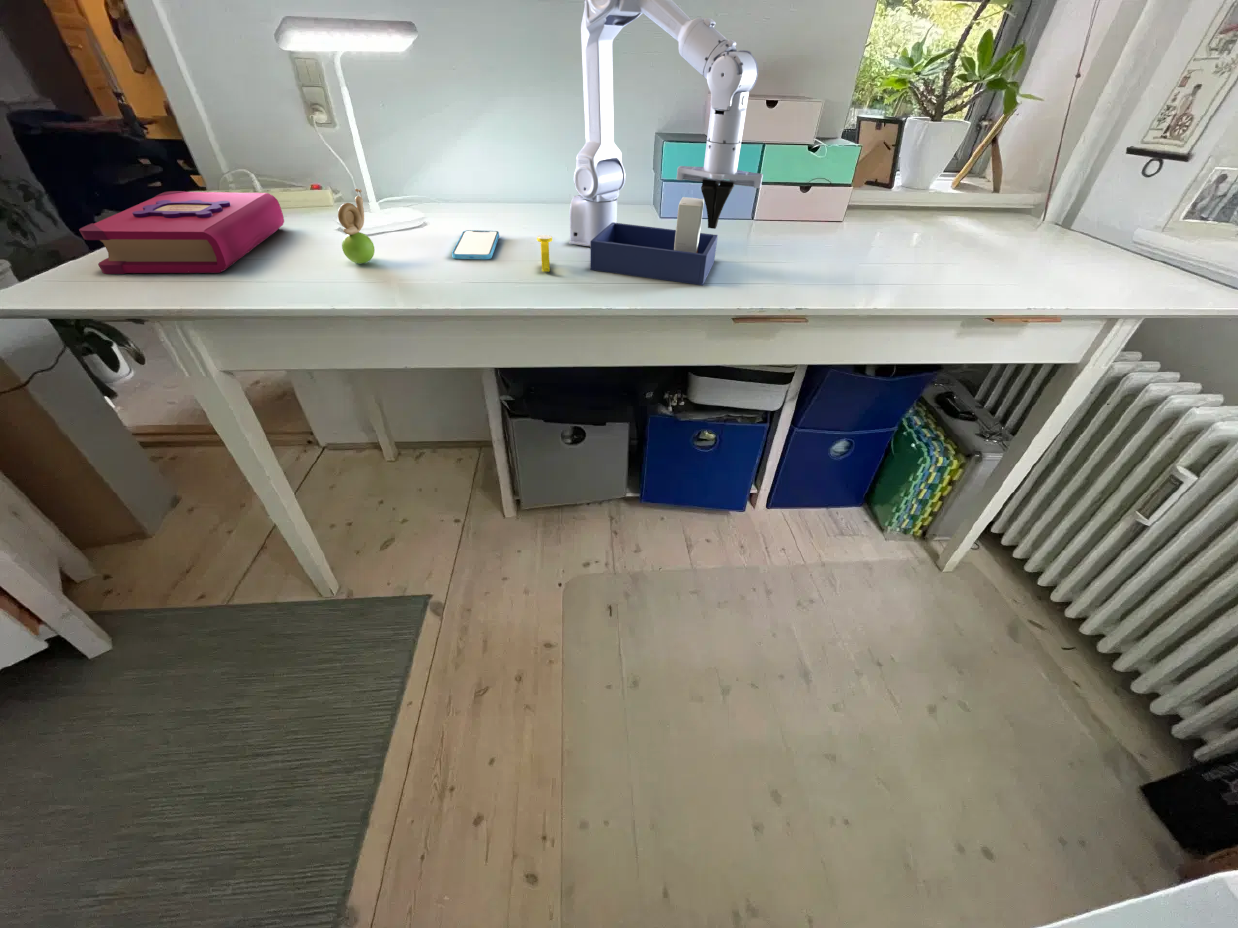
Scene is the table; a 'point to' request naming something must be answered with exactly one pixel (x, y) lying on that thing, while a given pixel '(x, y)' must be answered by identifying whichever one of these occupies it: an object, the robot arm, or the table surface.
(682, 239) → the cosmetic box
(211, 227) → the book
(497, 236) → the smartphone
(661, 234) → the bin
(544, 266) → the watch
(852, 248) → the table surface
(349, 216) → the snail figurine
